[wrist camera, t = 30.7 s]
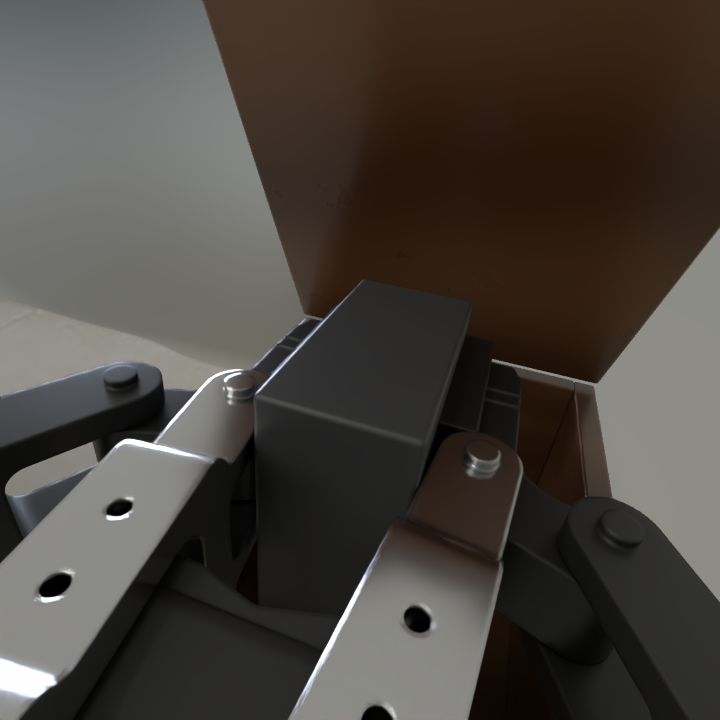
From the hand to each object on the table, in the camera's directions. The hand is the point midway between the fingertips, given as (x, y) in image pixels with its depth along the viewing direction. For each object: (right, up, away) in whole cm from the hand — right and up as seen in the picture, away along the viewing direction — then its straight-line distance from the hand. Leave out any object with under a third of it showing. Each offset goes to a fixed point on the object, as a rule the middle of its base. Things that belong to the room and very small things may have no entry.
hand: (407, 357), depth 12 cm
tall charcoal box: (-2, -6, +1) cm, 7 cm away
